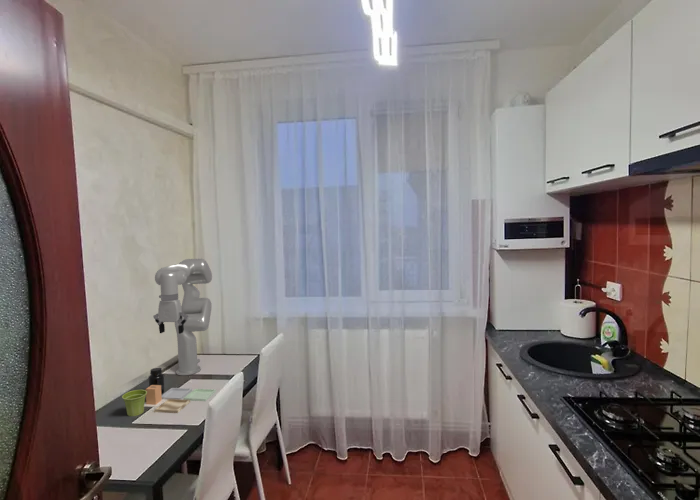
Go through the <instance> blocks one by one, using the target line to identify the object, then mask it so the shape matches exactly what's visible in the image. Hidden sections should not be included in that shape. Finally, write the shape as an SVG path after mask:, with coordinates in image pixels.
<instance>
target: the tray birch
mask: <svg viewBox="0 0 700 500" xmlns="http://www.w3.org/2000/svg"><path fill="white" fill-rule="evenodd" d="M190 403H191V401H190V400H183V399H182V400H180V399H168V400H166V401H164V402H163V403H162V404H160V405H159V406H158V407H155V408H154V410H153V412H154V413H160V414H161V413H163V414H178V413H179V412H181V411H182V410H183V409H184V408H186V407H187V405H189V404H190Z"/></svg>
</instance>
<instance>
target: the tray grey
mask: <svg viewBox="0 0 700 500" xmlns="http://www.w3.org/2000/svg"><path fill="white" fill-rule="evenodd" d="M192 391H193V388H190V387H189V388H187V387H186V388H185V387H184V388H183V387H171V388H169V389H168V390H166V391H165V392H164V393H163V394H161V395H162V399H166V400H168V399H180V400H183V398H184V397H185V396H187V395H188V394H189V393H190V392H192Z"/></svg>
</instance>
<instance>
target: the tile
mask: <svg viewBox="0 0 700 500" xmlns="http://www.w3.org/2000/svg"><path fill="white" fill-rule="evenodd" d="M165 401H166V399H162V400H161V401H160V402H159V403H157V404H156V405H151V404H146V401H145V403H144V408H146V407H149V408H151V407H152V408H157V407H158V406H160V405H161V404H162V403H164V402H165Z"/></svg>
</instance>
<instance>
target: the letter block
mask: <svg viewBox="0 0 700 500" xmlns="http://www.w3.org/2000/svg"><path fill="white" fill-rule="evenodd" d="M145 390H146V391H147V394H146V397H145V402H146V404H151V405H156V404H157V403H159V402H160V401H161V400H162V395H163V394H161V385H151V386H149V385H148V387H147V388H145Z"/></svg>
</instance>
